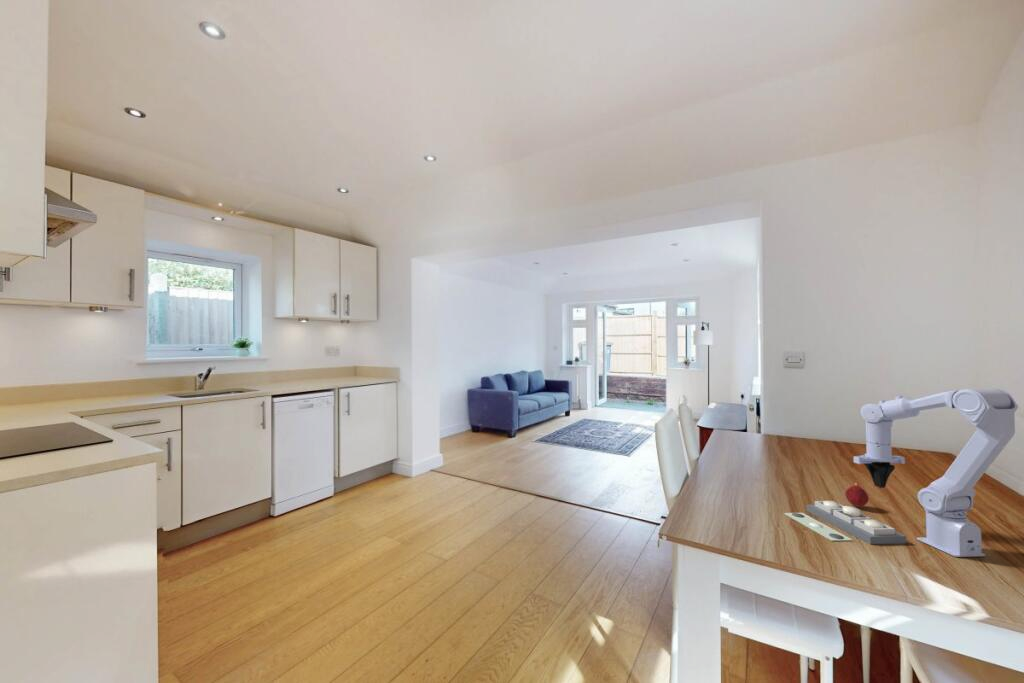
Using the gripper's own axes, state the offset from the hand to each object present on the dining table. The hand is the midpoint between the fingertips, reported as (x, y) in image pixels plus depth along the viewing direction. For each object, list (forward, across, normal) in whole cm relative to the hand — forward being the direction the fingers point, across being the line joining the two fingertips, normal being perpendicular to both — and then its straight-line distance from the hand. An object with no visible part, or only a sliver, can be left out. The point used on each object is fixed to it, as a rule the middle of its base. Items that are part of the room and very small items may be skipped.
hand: (879, 486), depth 120 cm
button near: (+8, +12, +10) cm, 18 cm away
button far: (+8, +12, -4) cm, 15 cm away
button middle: (+7, +12, +3) cm, 14 cm away
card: (+10, +23, +3) cm, 25 cm away
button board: (+10, +12, +3) cm, 16 cm away
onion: (+11, -2, -10) cm, 15 cm away
